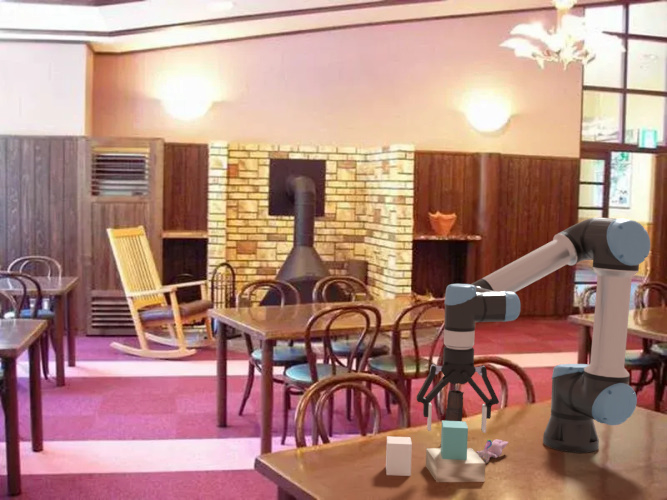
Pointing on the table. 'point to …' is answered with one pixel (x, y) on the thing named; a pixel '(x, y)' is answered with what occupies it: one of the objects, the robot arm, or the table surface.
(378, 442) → the table surface
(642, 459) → the table surface
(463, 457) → the teal block
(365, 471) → the table surface
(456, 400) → the butter churn
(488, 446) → the pink animal figurine
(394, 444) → the off-white block
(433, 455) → the birch base
